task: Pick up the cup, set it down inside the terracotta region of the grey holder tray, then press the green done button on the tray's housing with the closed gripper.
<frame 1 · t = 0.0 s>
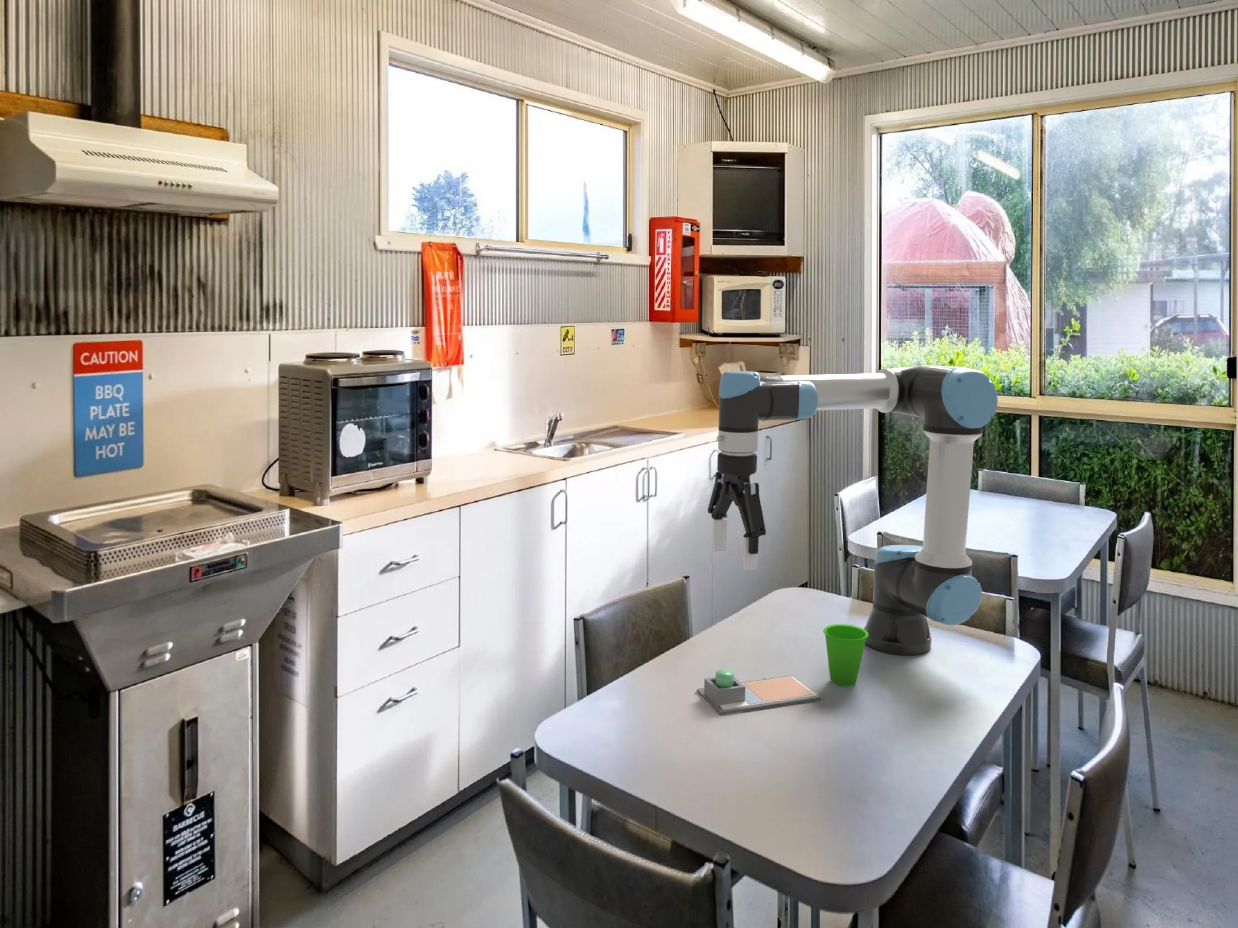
hand: (734, 559, 173), 28 cm above the table, fingers open, 13 cm apart
grey holder tray: (758, 695, 178), on the table
done button: (724, 680, 175), point 4 cm above the table, slide at 0.0 cm
cup: (843, 682, 185), on the table
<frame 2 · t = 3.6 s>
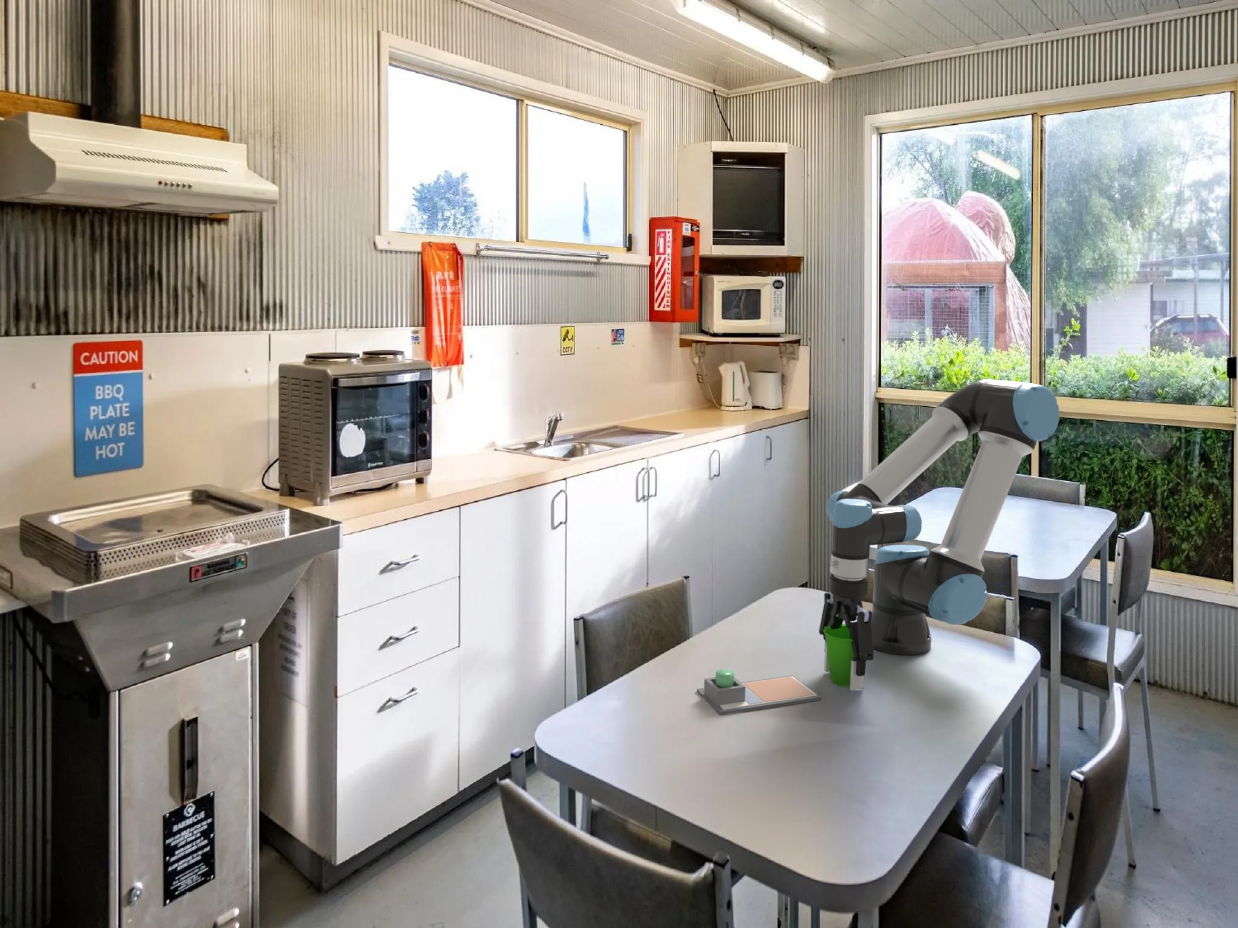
hand: (843, 679, 185), 0 cm above the table, fingers closed on cup, 9 cm apart
cup: (843, 682, 185), on the table, touching gripper
everything else where it was.
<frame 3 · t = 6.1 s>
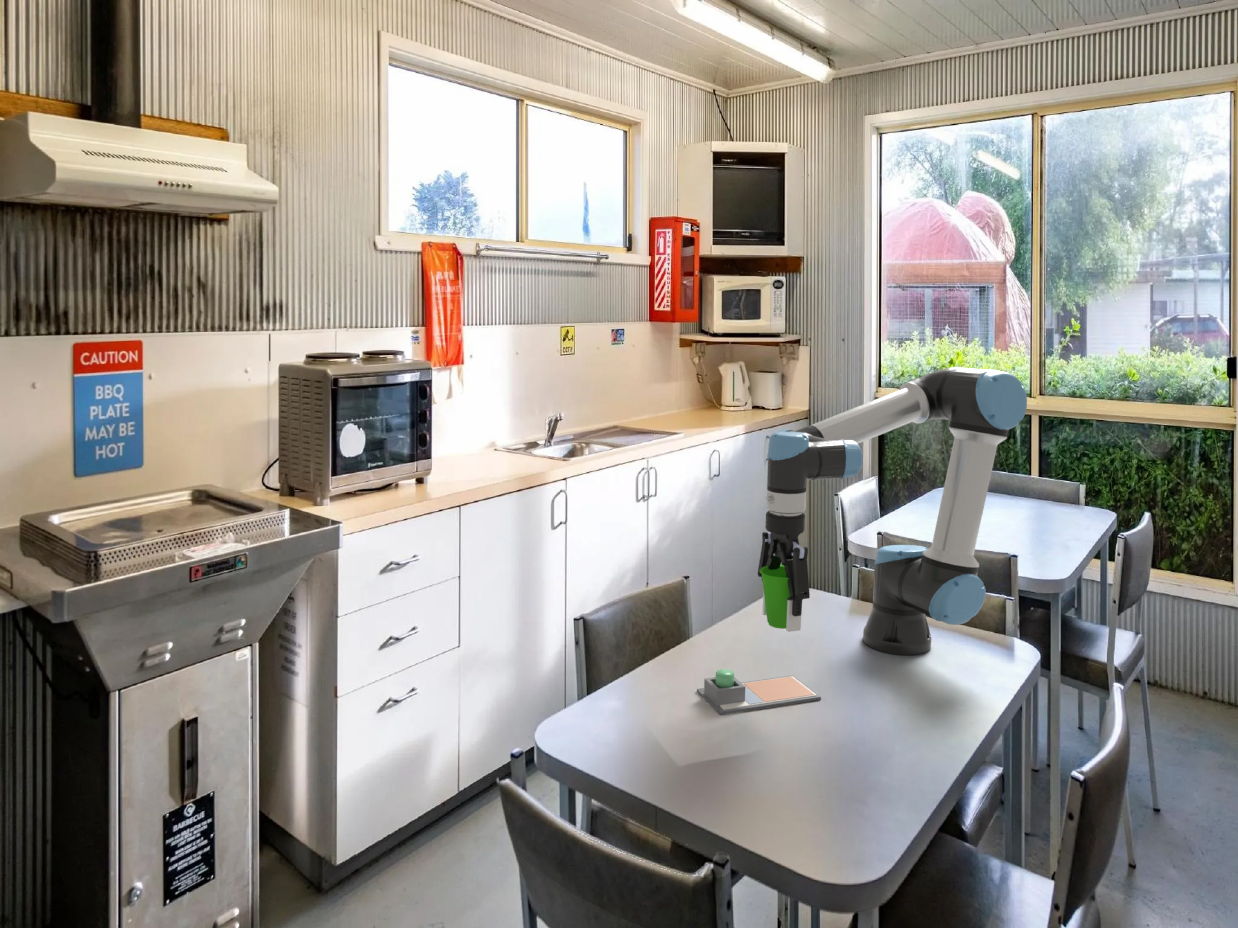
hand: (781, 621, 177), 15 cm above the table, fingers closed on cup, 9 cm apart
cup: (780, 625, 177), point 14 cm above the table, touching gripper
everything else where it was.
when the fingers open (3 cm above the table, at t = 8.6 s): cup drops 2 cm, resting on grey holder tray.
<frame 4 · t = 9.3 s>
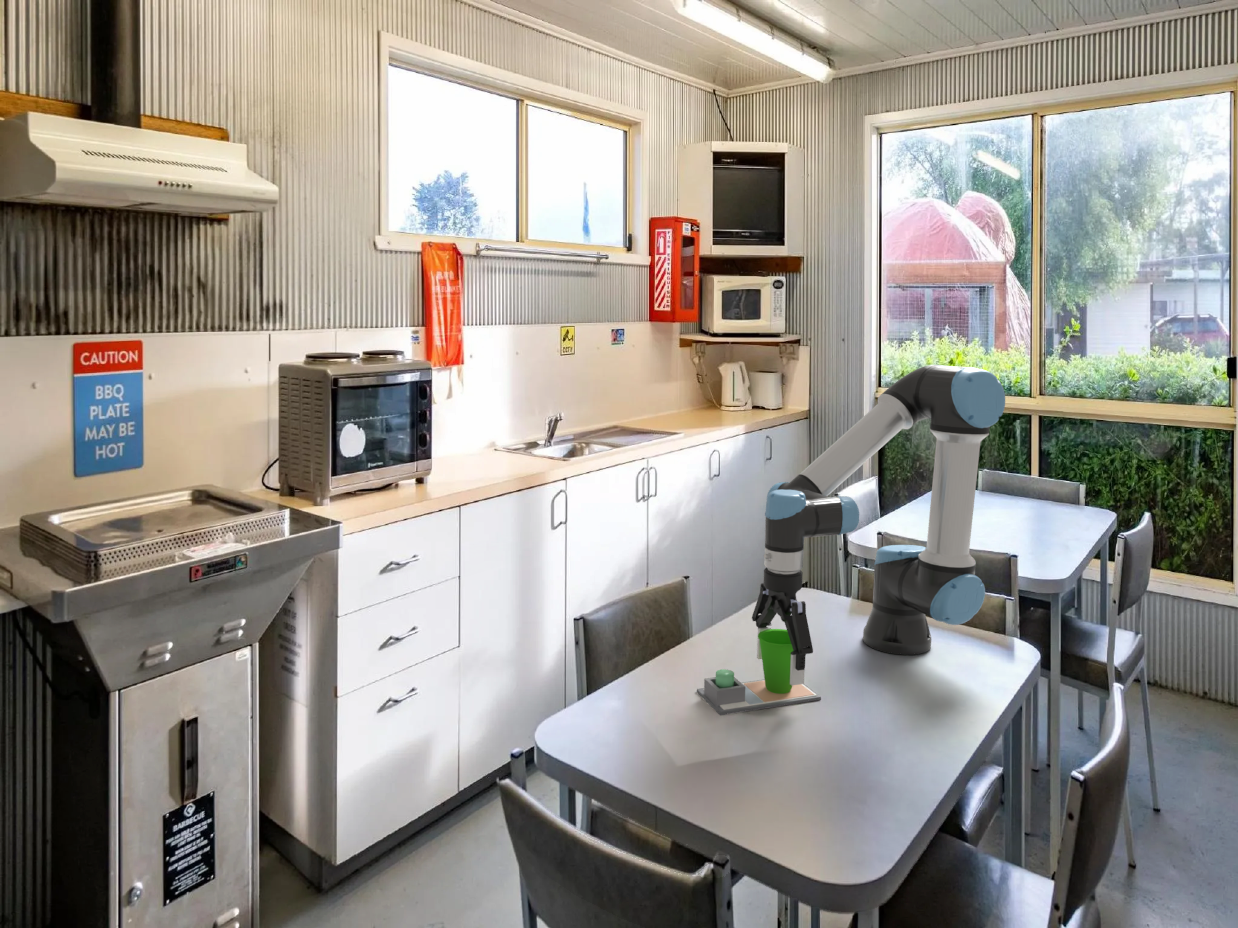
hand: (779, 670, 179), 5 cm above the table, fingers open, 13 cm apart
cup: (778, 689, 179), point 1 cm above the table, touching grey holder tray
everything else where it was.
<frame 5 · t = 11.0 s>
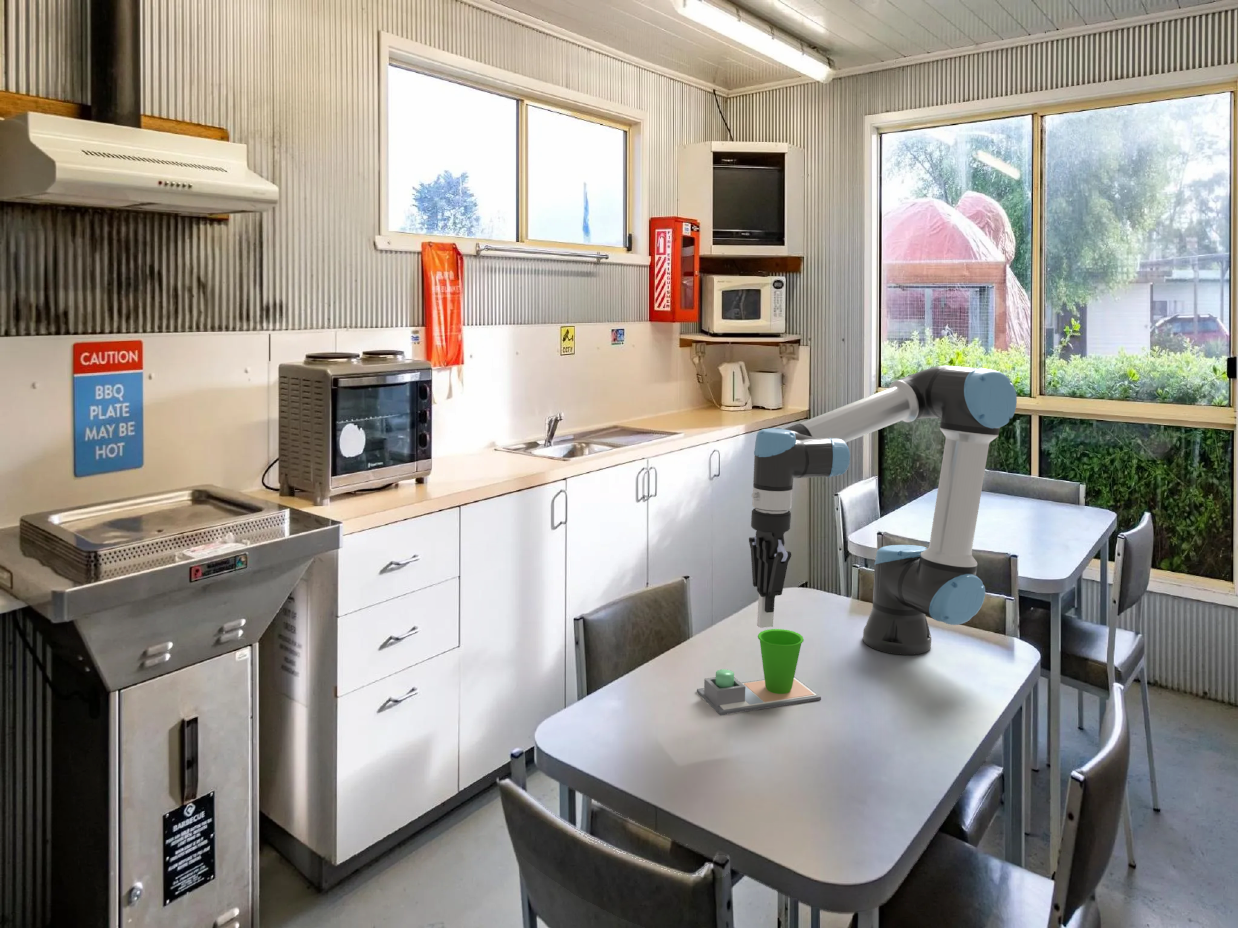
hand: (765, 625, 176), 15 cm above the table, fingers closed
nothing on the table moved.
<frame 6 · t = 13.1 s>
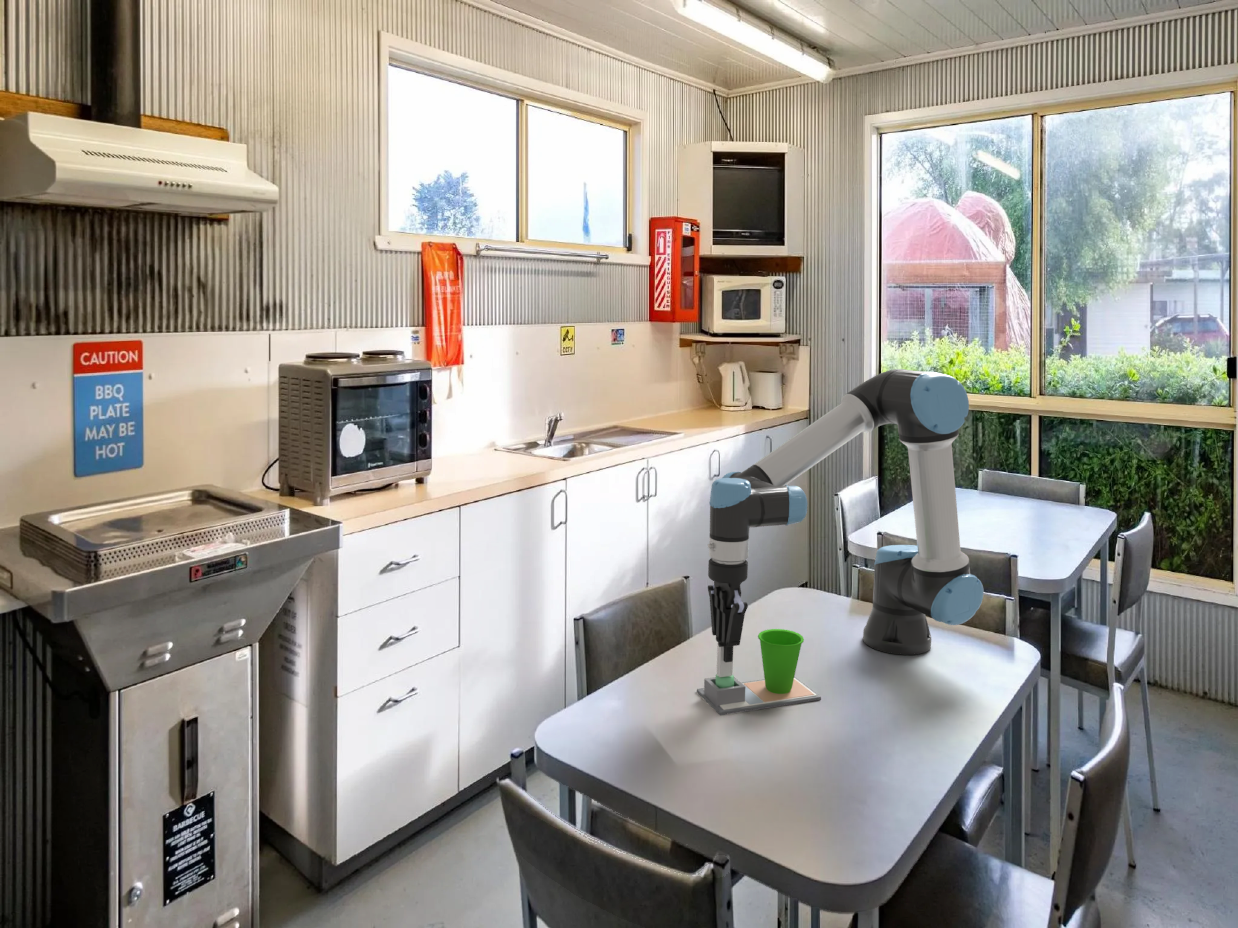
hand: (724, 674, 174), 5 cm above the table, fingers closed
done button: (724, 683, 175), point 4 cm above the table, slide at 0.7 cm, touching gripper
everything else where it was.
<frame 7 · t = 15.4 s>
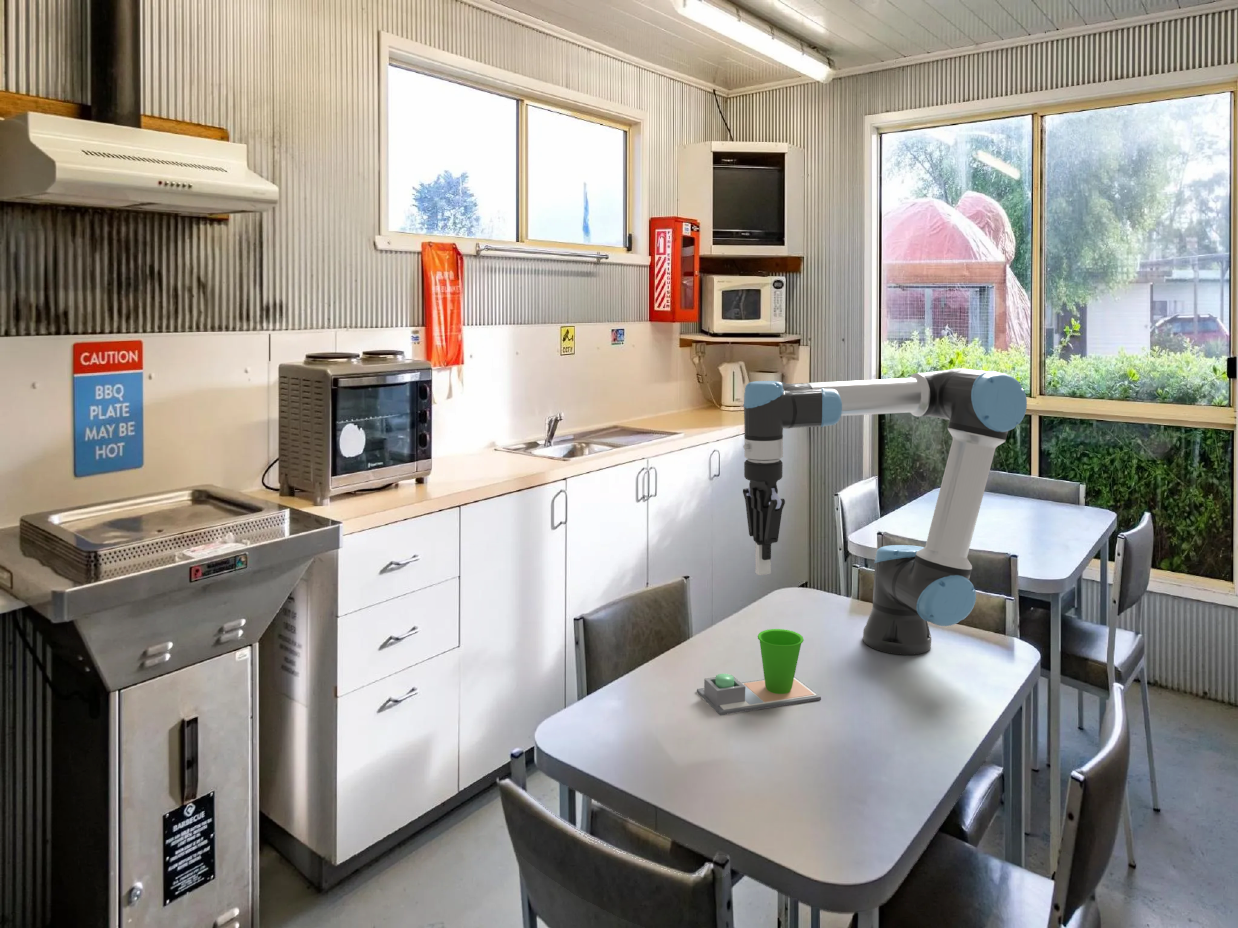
hand: (763, 573, 181), 23 cm above the table, fingers closed
done button: (724, 684, 175), point 3 cm above the table, slide at 0.9 cm
everything else where it was.
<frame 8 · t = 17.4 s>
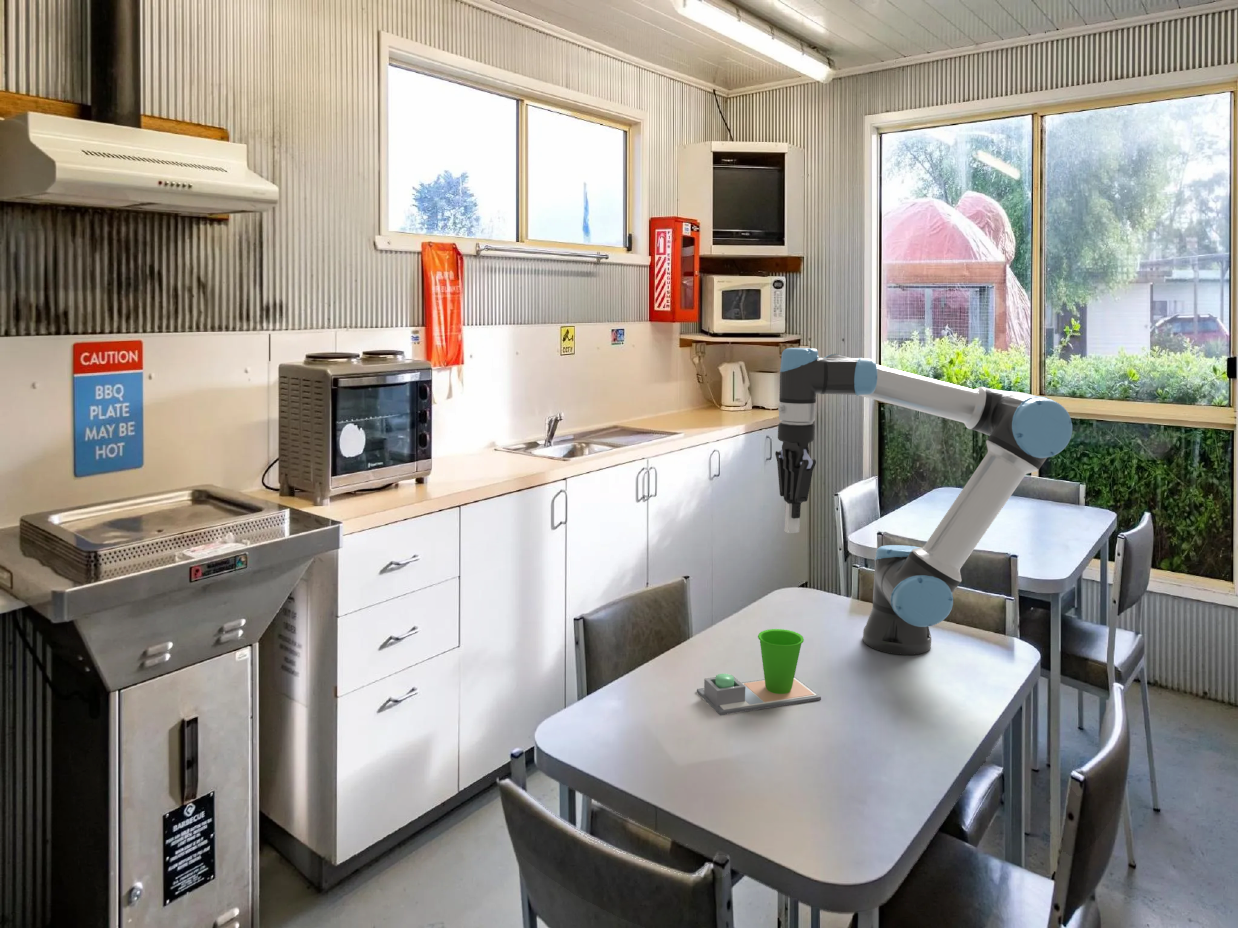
hand: (791, 531, 190), 29 cm above the table, fingers closed
nothing on the table moved.
at the end: cup inside the target area (0.0 cm from its centre), point 0.7 cm above the table; cup tilted 0°; done button slide at 0.9 cm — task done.
